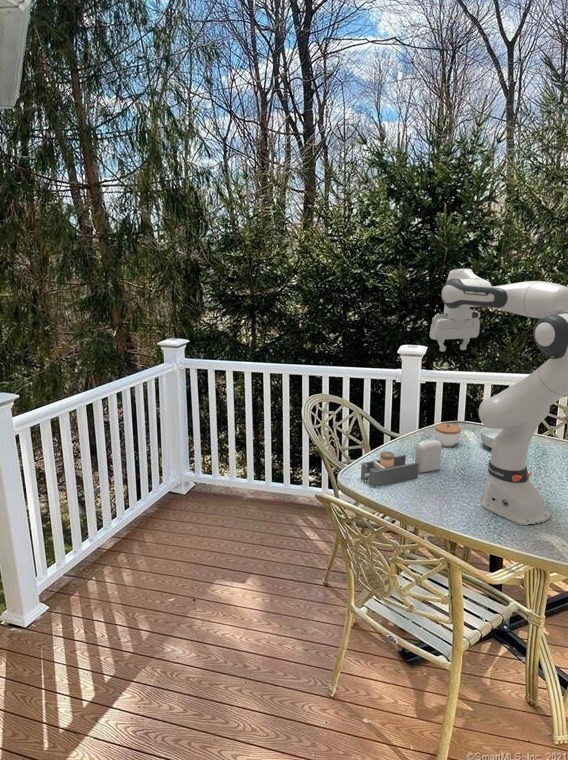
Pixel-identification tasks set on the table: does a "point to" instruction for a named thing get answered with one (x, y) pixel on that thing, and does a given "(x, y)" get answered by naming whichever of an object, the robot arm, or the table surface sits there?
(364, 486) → the table surface
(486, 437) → the cereal bowl
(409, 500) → the table surface
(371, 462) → the lane
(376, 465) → the pusher
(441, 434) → the lidded jar
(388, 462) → the jar
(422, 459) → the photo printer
